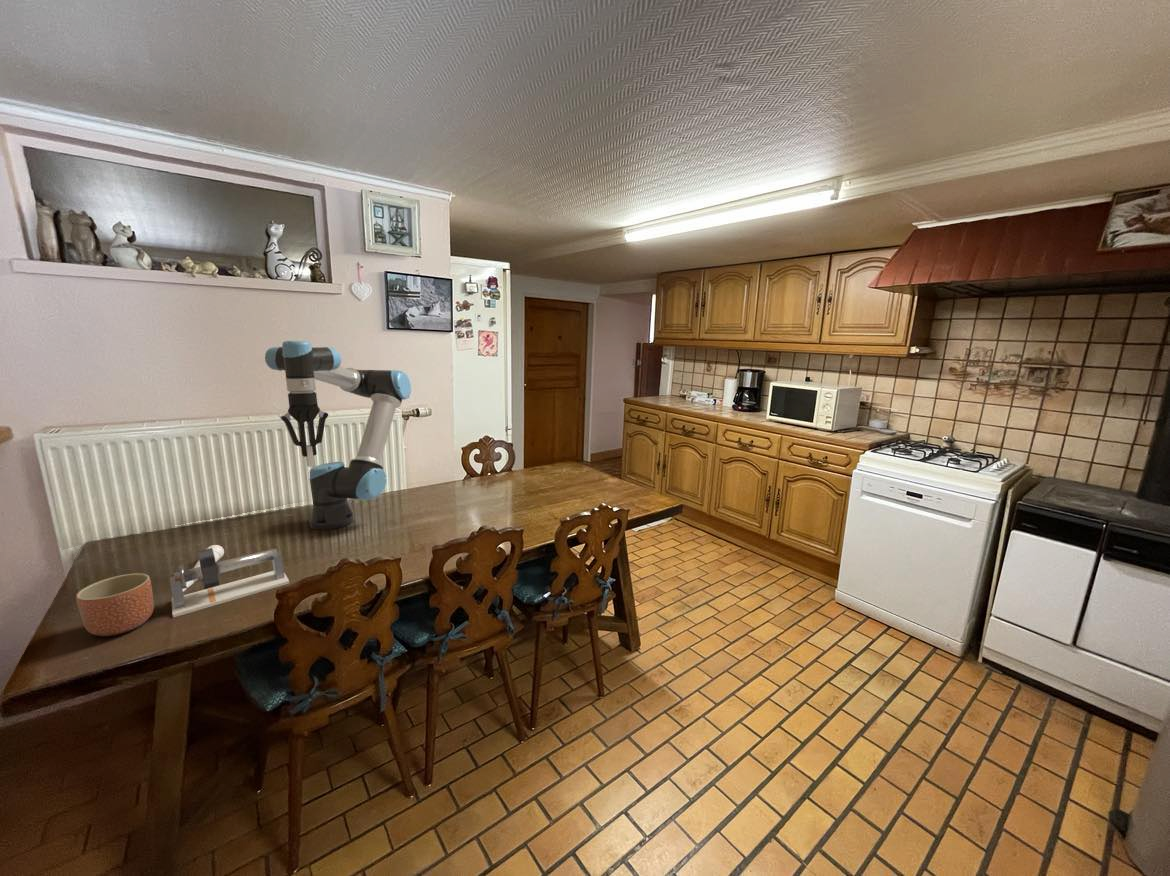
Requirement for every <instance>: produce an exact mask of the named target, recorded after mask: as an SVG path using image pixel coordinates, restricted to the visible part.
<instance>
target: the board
mask: <svg viewBox="0 0 1170 876" xmlns="http://www.w3.org/2000/svg"><path fill="white" fill-rule="evenodd" d="M284 575H285V578H281V579H278V580H277V579H276V577H275V576H274V570H271V571H267V572H265V573H264V572H263V573H261V574H260V573H259V574H257V575H254V576H249V577H246V578H243V579H238V580H234V581H231V582H227V583H224V584H219V586H215V587H212V588H208V589H205V588H204V589H201V590H198V591H194V592H191V593H187V594H183V595H184V600H185V606H183V607H180V608H176V609H175V607H174V602H173V597H172V598H171V611H172V612H171V613H172V618H176V617H179V616H183V615H187V614H191V613H194V612H197V611H200V610H203V609H207V608H210V607H214V606H217V605H220V604H224V603H228V602H231V601H234V600H238V599H241V598H244V597H247V596H252V595H255V594H258V593H262V592H265V591H269V590H271V589H275V588H279V587H282V586H284V585H288V584H290V580H289V577H288V576H287V575H286V573H285V572H284Z"/></svg>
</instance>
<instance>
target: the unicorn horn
mask: <svg viewBox="0 0 1170 876" xmlns="http://www.w3.org/2000/svg"><path fill="white" fill-rule="evenodd" d="M210 548H212V549H213V553H214V556H215V562H216V563H217V562H218V561H219V560H220V559H221V558H222V557H223V556H224V554H225V550H224V547H222V546H221V545H218V544H213V545H210V546H208V547H207V548H206V549H210ZM197 567H200V561H199V559H198V560H197V562H196V563H195V565H194V567H193V568H197ZM196 581H198V579H196V580H192V581H188V582H186V586H187V588H184V589H183V593H184V592H185V591H187V589H189V588H190V587H191V586H192V585H193V584H195V582H196Z"/></svg>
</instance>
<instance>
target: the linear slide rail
mask: <svg viewBox="0 0 1170 876" xmlns="http://www.w3.org/2000/svg"><path fill="white" fill-rule="evenodd" d="M283 560H284V559H283V555H282V552H281V551H280V550H279V549H278V550H277V548H276V547H275V548H271V549H267V550H262V551H259V552H255V553H251V554H245V555H241V556H238V557H234V558H231V559H230V558H229V559H225V560H221V561H219V562H218V561H217V562H216V568H217V574H218V575H219V574H223V573H227V572H230V571H234V570H239V569H242V568H246V567H249V566H253V565H257V564H262V563H265V562H268V561H271V563H272V569H273V570H272V571H274V576H275V577H276V579H277V580H278V579H281V578H285V575H284V573H285V567H284V561H283ZM173 575H174V576H170V577H169V585H170V590H171V595H172V598H173V602H174V607H175V609H176V608H180V607H183V606H185V600H184V595H185V594H184V592H183V589H184V588H186V589H188V588H187V586H186V582H188V581H192V580H196V579H197V580H198V579H203V577H202V571H201V567H197V568H194V567H193V568H189V569H184V565H183V564H182V565H181V564H180V565H178V572H177V571H176V572H174V573H173ZM197 580H196V581H197Z"/></svg>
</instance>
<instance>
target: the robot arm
mask: <svg viewBox="0 0 1170 876" xmlns="http://www.w3.org/2000/svg"><path fill="white" fill-rule="evenodd" d="M264 361H265V363H266V366H267V367H268V368H270V369H271V370H275V371H279V372H280V371H284V372H285V383H286V390H287V392H288V393H287V398H288V399H287V400H288V407H289V408H288V409H287V413H285V414H283V415H280V416H279V417H280V418H279V419H280V420H281V421H283V423H285V426H286V428H287V431H288V434H289V435H290V438H291V440H292V443H293V445H295V446H297V447H300V448H301V449H300V450H301V455H302V456H303V458H305V460H306V466H307V467H308V468H310V470H309V486H310V491H311V498H312V499H311V500H312V509H311V513H310V516H309V526H310V527H309V528H311V529H313V530H318V531H321V530H322V531H325V530H327V531H328V530H334V529H338V528H342V527H345V526H347V525H348V526H349V525H350V524H352V523H353V522H354V521H355V513H354V511H353V508H352V507H351V505H350V502H349V501H348V499H349V500H350V499H351V500H352V499H353V500H362V501H363V500H364V501H366V500H374V499H376V498H377V497H379V496H381V494H382V493H384V490H385V487H386V485H387V474H386V472H385V470H384V466H383V464H382V463H381V462H382V458H383V456H384V455H383V454H384V451H385V448H386V444H387V441H388V437H389V434H390V429H391V426H392V424H393V423H392V422H393V419H394V416H395V412H396V409H397V408H399V407H401V405H402V402H403V400H407V399H409V398H410V396H411V393H412V385H411V381H410V377H409V376H408V375H407V374H406V373H405V371H402V370H395V369H392V370H391V369H390V370H387V369H383V370H382V369H357V368H353V367H343V366H341V363H342V357H341V353H339V351H338V350H337V349H335V348H333V347H328V346H327V347H326V346H325V347H324V346H322V347H321V346H320V347H314V346H312V344H311V342H310V341H308V340H285V341H283V342H282V346H275V347H270V348H268V349H267V350H266V351H265V355H264ZM316 381H320V382H323V383H327V384H330V385H333V386H336V387H339V388H340V389H341V390H342V391H344V392H346V393H347V392H348V393H350V394H353V395H356V396H360V397H364V398H369V399H370V400H371V401H372V404H371V405H372V406H371V409H370V411H369V415H368V418H367V421H366V425H365V428H364V431H363V435H362V438H361V441H360V445H359V447H358V451H357V454H356V457H355V458H354V457H353V459H351V460H350V462H349V466H348V467H347V466H346V465H345V463H344V462H343V461H334V462H333V461H332V462H327V463H322V464H319V465H316V466H315V461H314V456H317V445H318V444H321V443H322V442H323V436H324V431H325V424H326V420H327V419H328V417H329V413H328V412H325V411H323V410H321V408H320V407H319V405H318V398H317V397H318V395H317V392H315V391H316V390H317V389H316ZM317 416H318V417H319V419H318V425H317V430H316V434H315V419H316V417H317ZM291 417H292V418H293V419H294V420H295V421H296V422H297V427H298V436H299V439H298V437H297V433H296V431H295V429H294V426H293V424H292V422H291V420H292V418H291ZM305 422H306V423H307V433H308V441H309V444H307V437H306V429H305Z"/></svg>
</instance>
